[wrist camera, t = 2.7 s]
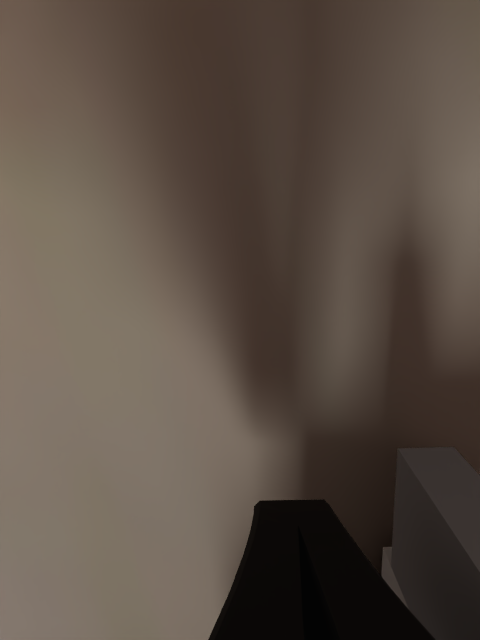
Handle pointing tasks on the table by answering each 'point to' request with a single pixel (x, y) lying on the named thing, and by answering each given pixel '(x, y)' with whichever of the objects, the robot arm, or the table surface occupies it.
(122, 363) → the table surface
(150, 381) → the table surface
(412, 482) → the camera door
